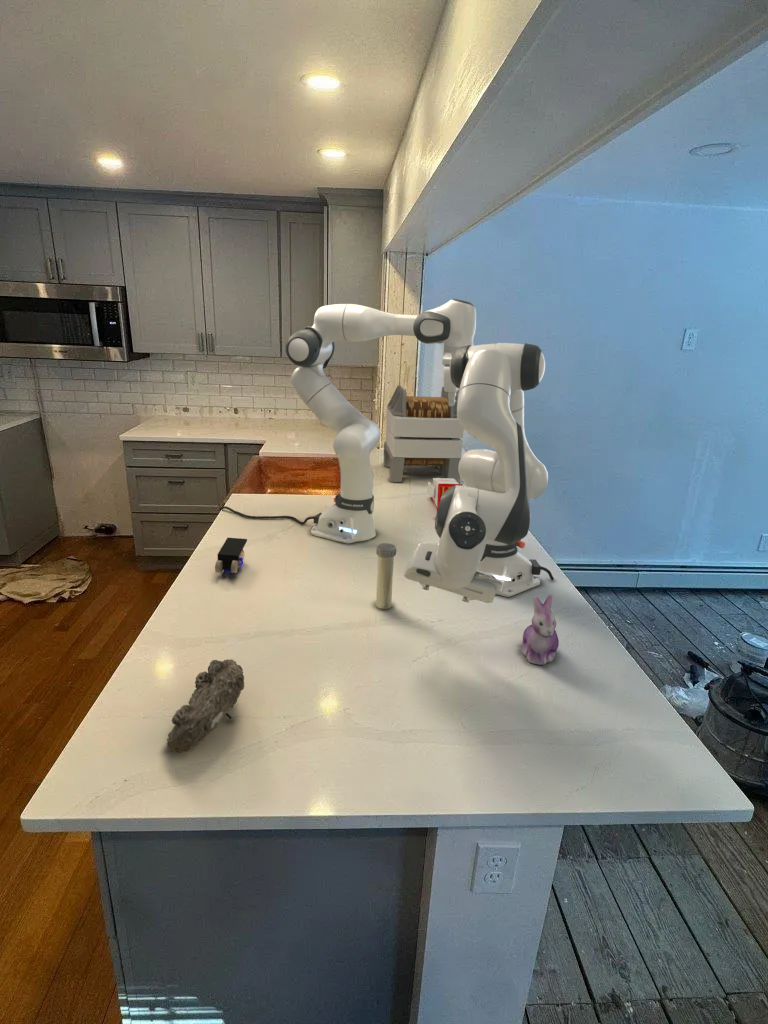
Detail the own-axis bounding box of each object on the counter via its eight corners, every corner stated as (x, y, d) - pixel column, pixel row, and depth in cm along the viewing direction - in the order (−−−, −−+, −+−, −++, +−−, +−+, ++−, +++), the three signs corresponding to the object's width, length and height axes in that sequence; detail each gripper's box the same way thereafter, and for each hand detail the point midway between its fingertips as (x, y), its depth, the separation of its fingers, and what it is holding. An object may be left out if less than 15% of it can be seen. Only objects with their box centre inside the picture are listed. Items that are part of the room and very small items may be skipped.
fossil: (192, 660, 117) (244, 628, 112) (224, 691, 120) (276, 661, 115) (142, 746, 98) (202, 712, 93) (182, 779, 101) (242, 748, 96)
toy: (455, 474, 240) (467, 485, 211) (453, 505, 243) (464, 520, 214) (426, 473, 240) (434, 484, 211) (425, 504, 243) (432, 519, 213)
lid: (385, 548, 150) (385, 541, 149) (399, 554, 147) (400, 547, 146) (372, 553, 146) (372, 546, 146) (387, 559, 143) (387, 552, 142)
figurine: (539, 671, 126) (548, 612, 121) (509, 647, 135) (517, 591, 130) (570, 661, 130) (580, 603, 125) (539, 638, 139) (548, 583, 134)
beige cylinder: (383, 600, 154) (385, 544, 149) (394, 605, 152) (397, 548, 146) (372, 605, 151) (375, 548, 146) (384, 610, 149) (387, 553, 143)
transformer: (382, 463, 289) (386, 382, 275) (445, 464, 293) (451, 384, 279) (390, 482, 257) (394, 392, 243) (460, 483, 261) (468, 394, 247)
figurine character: (238, 584, 162) (249, 557, 175) (236, 562, 158) (247, 536, 172) (215, 584, 161) (227, 556, 175) (212, 561, 158) (225, 535, 171)
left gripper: (453, 354, 180) (449, 398, 185) (441, 358, 161) (437, 407, 166) (473, 355, 178) (468, 399, 183) (463, 360, 160) (459, 409, 164)
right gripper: (506, 567, 118) (493, 594, 130) (412, 539, 120) (407, 568, 132) (500, 594, 115) (487, 619, 126) (404, 565, 117) (399, 592, 129)
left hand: (454, 403), depth 174 cm, fingers open, 8 cm apart
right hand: (445, 592), depth 129 cm, fingers open, 8 cm apart
